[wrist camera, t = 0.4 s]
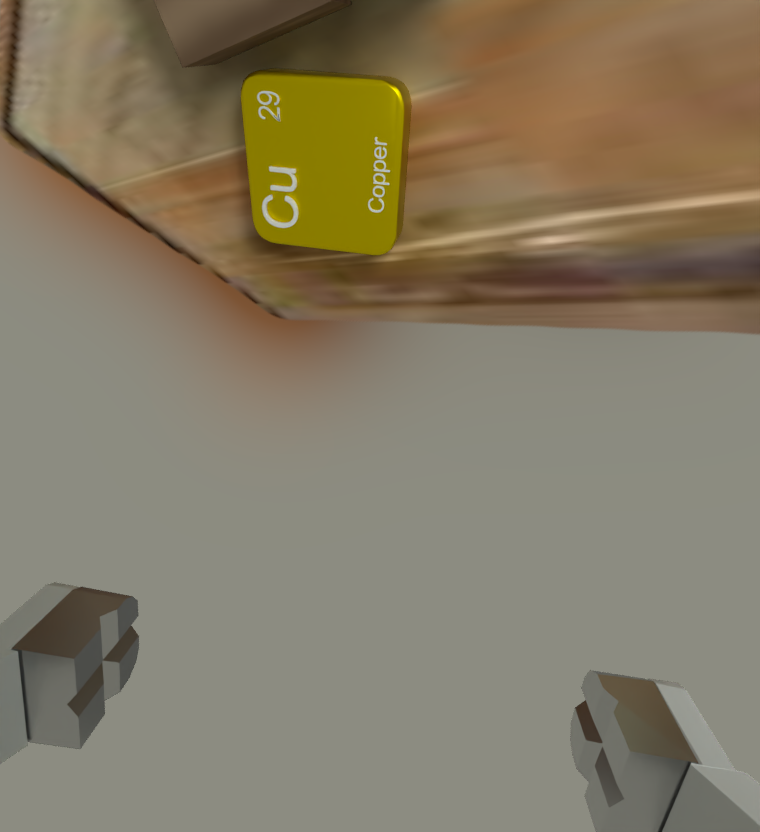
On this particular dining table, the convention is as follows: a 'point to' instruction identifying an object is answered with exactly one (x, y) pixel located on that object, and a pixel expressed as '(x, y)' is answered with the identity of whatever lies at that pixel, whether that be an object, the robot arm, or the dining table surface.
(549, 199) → the dining table surface
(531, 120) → the dining table surface
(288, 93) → the element tile
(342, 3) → the walnut block
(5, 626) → the robot arm
